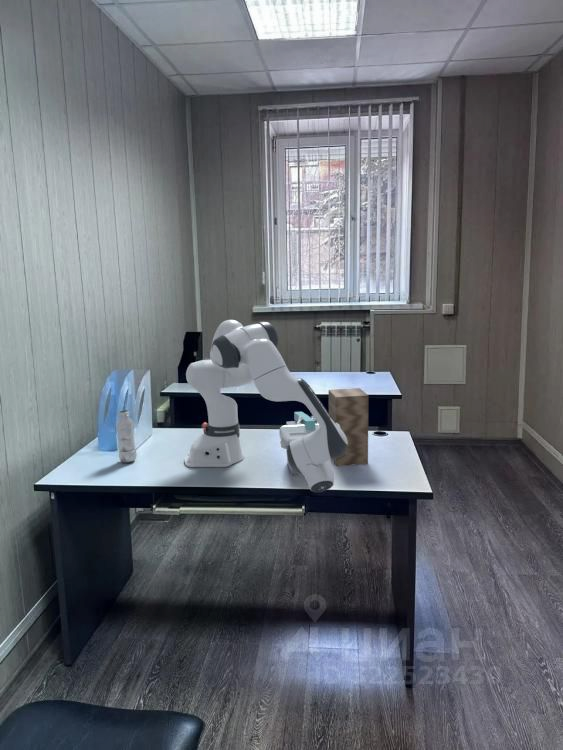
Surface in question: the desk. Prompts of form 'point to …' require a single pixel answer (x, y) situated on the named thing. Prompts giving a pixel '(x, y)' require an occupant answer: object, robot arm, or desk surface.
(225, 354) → the robot arm
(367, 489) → the desk surface
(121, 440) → the plastic bottle
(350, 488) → the desk surface
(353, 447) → the walnut pedestal
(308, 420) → the teal bar
